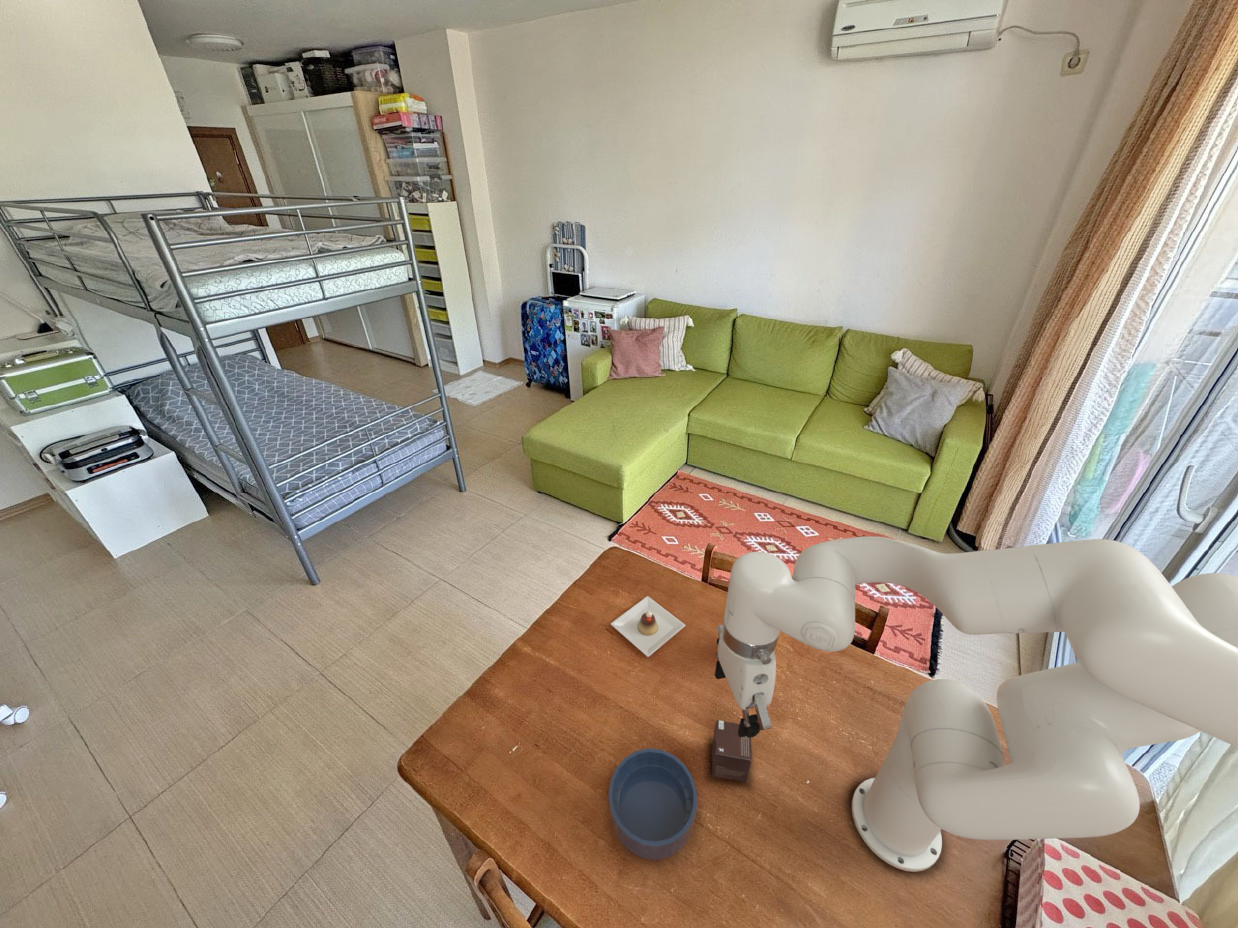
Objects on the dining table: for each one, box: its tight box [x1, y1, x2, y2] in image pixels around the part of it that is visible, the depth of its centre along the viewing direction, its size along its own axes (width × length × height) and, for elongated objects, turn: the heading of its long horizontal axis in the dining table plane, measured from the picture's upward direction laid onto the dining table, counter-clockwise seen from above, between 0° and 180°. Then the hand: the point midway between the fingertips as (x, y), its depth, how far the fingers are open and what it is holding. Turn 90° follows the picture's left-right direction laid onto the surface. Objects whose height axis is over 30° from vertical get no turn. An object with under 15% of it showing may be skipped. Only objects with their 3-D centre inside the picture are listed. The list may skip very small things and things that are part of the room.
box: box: [711, 719, 753, 783], centre depth 84 cm, size 6×6×7 cm
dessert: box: [610, 595, 686, 658], centre depth 110 cm, size 12×12×5 cm
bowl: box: [607, 747, 698, 861], centre depth 79 cm, size 14×14×6 cm
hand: (735, 703), depth 77 cm, fingers open, 9 cm apart
